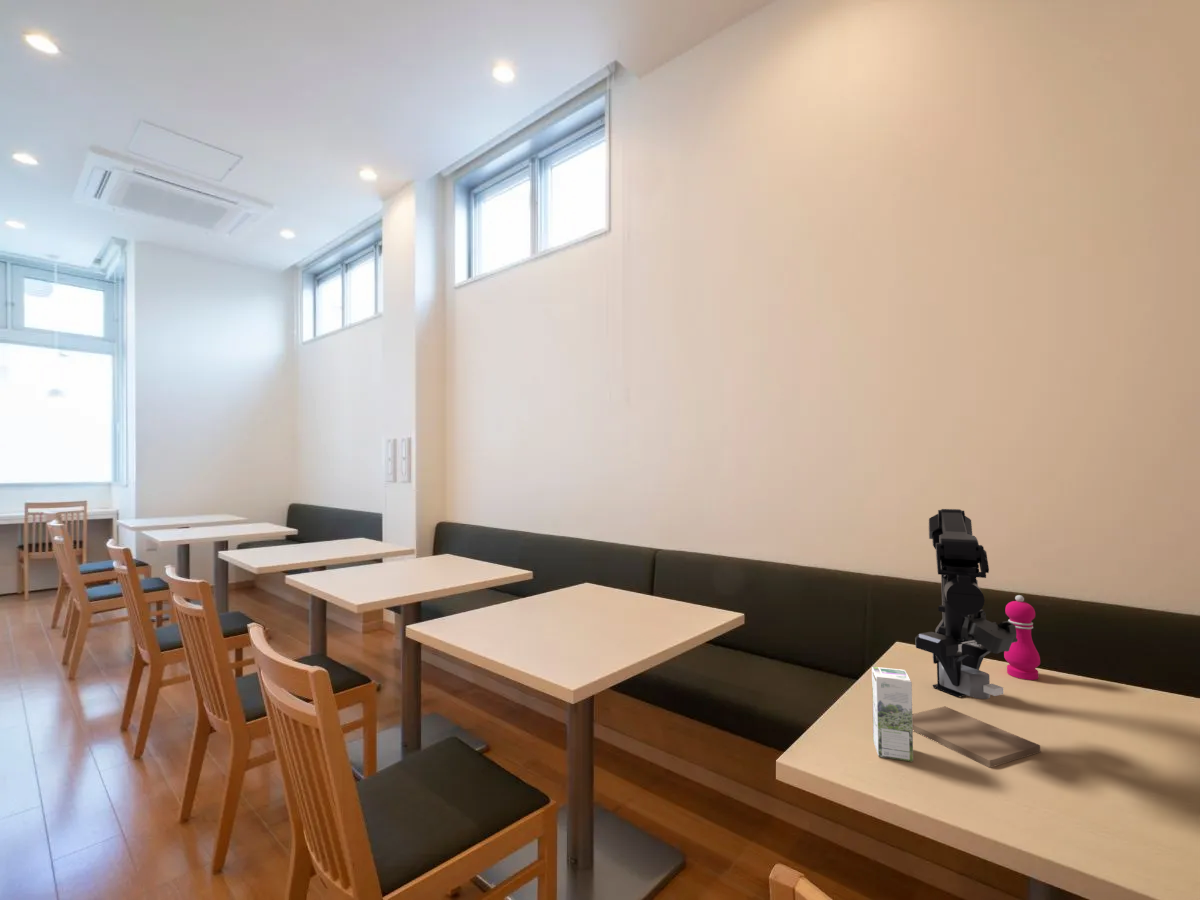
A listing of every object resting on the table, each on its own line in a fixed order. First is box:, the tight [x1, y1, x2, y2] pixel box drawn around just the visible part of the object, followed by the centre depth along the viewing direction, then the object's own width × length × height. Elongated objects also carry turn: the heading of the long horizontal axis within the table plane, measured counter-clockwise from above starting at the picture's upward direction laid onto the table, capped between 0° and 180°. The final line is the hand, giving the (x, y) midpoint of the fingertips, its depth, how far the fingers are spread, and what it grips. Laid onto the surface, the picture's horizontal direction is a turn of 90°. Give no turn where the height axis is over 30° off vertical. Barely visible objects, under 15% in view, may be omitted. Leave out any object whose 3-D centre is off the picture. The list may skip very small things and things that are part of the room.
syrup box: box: [871, 666, 914, 762], centre depth 99 cm, size 6×6×14 cm
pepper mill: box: [1003, 594, 1041, 681], centre depth 136 cm, size 7×7×20 cm
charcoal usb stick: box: [939, 662, 1004, 700], centre depth 104 cm, size 11×4×4 cm, turn 22°
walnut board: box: [912, 706, 1041, 768], centre depth 104 cm, size 18×14×1 cm
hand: (963, 684), depth 105 cm, fingers closed on charcoal usb stick, 4 cm apart
